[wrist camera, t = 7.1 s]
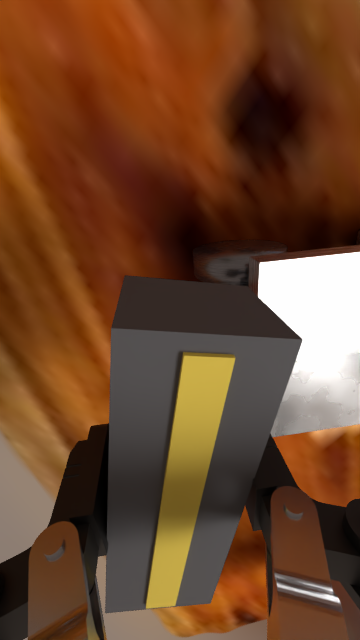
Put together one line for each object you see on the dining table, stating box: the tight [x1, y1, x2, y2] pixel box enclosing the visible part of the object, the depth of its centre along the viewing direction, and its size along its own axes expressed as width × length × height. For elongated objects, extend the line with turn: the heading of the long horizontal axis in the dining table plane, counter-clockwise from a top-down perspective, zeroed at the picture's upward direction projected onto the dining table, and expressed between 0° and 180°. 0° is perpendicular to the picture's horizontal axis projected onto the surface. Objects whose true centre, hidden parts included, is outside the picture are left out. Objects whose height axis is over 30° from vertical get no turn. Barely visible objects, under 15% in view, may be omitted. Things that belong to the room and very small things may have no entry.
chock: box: [105, 275, 303, 613], centre depth 11 cm, size 13×4×4 cm, turn 173°
